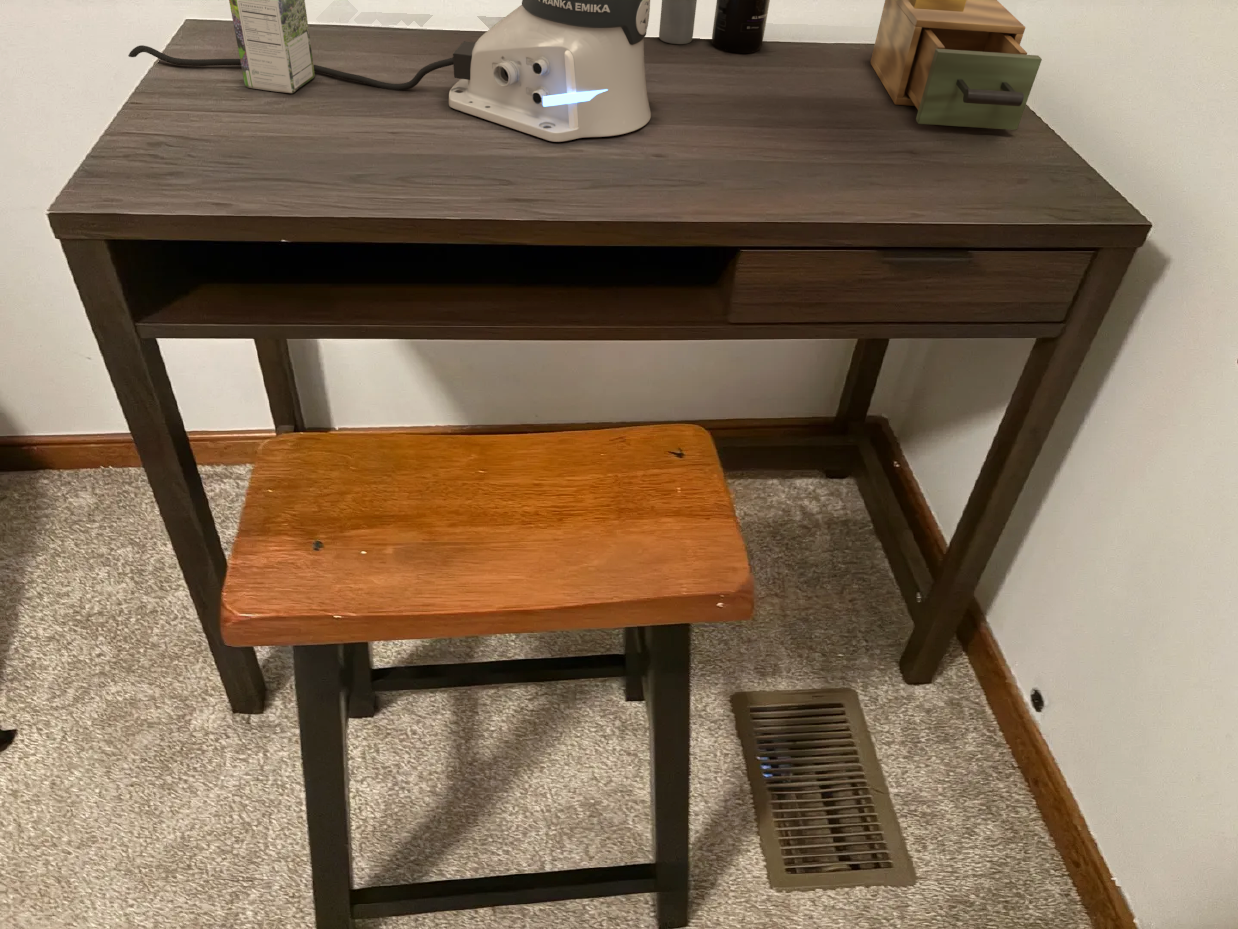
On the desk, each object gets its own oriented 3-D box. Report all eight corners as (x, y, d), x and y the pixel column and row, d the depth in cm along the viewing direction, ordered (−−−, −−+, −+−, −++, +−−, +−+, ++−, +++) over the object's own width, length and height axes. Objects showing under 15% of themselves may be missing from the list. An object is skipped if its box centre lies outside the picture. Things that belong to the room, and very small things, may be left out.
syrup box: (269, 71, 106) (243, -72, 96) (318, 77, 105) (296, -66, 96) (244, 88, 102) (214, -60, 92) (294, 95, 101) (269, -53, 91)
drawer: (1031, 147, 101) (1058, 74, 96) (929, 141, 100) (950, 67, 95) (981, 87, 115) (1003, 20, 110) (891, 81, 114) (908, 13, 109)
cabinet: (997, 111, 111) (1025, 26, 105) (894, 104, 111) (917, 19, 104) (963, 69, 122) (987, -10, 116) (870, 63, 122) (888, -17, 115)
